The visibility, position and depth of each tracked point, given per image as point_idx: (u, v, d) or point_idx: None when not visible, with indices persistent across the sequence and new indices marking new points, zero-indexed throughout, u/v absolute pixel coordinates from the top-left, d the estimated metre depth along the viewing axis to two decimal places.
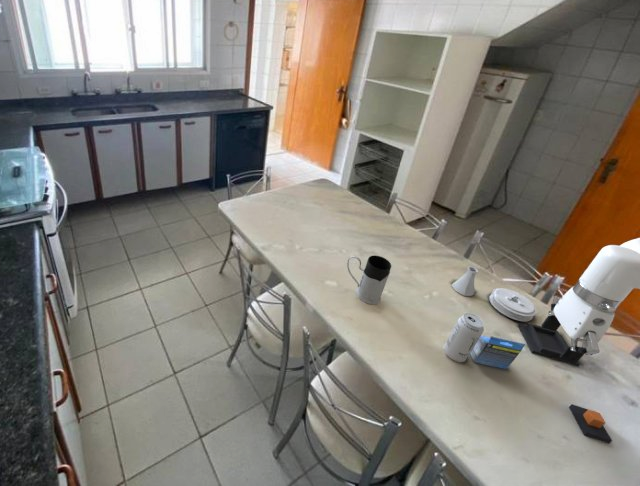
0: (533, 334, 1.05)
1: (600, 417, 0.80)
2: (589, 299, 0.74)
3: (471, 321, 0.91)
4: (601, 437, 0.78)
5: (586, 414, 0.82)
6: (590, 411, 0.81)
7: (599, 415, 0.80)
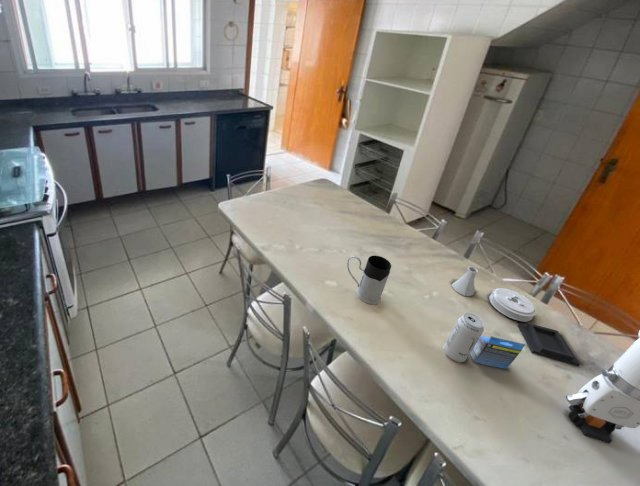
0: (533, 334, 1.05)
1: None
2: (609, 368, 0.77)
3: (471, 321, 0.91)
4: (601, 437, 0.78)
5: None
6: None
7: None
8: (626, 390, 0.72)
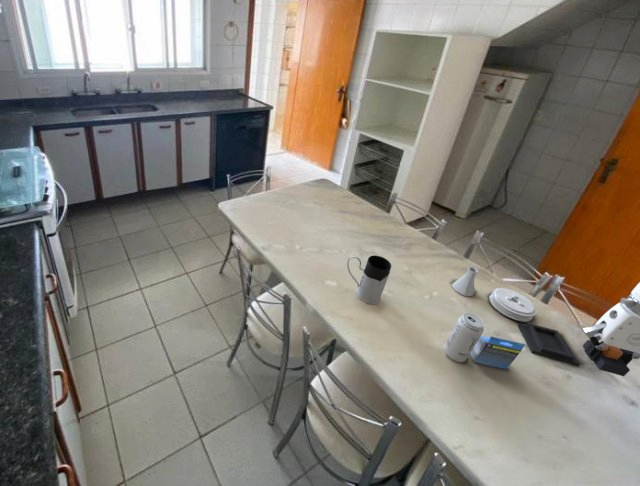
0: (533, 334, 1.05)
1: (617, 348, 0.80)
2: None
3: (471, 321, 0.91)
4: (619, 367, 0.79)
5: None
6: None
7: (616, 347, 0.81)
8: None
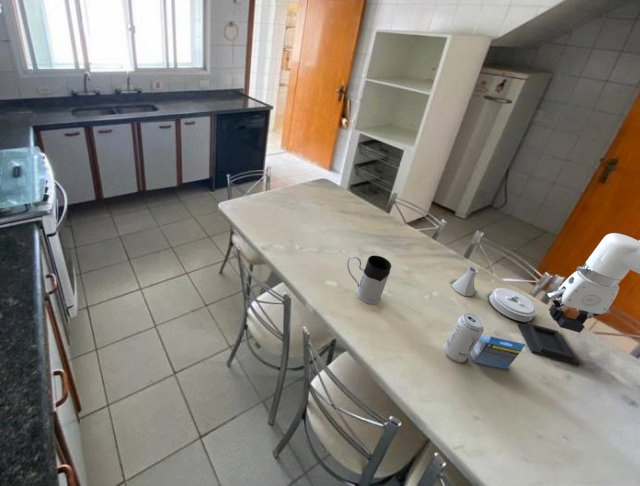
0: (533, 334, 1.05)
1: (575, 310, 0.97)
2: None
3: (471, 321, 0.91)
4: (576, 325, 0.95)
5: (564, 309, 0.98)
6: None
7: (574, 309, 0.97)
8: (595, 279, 0.89)
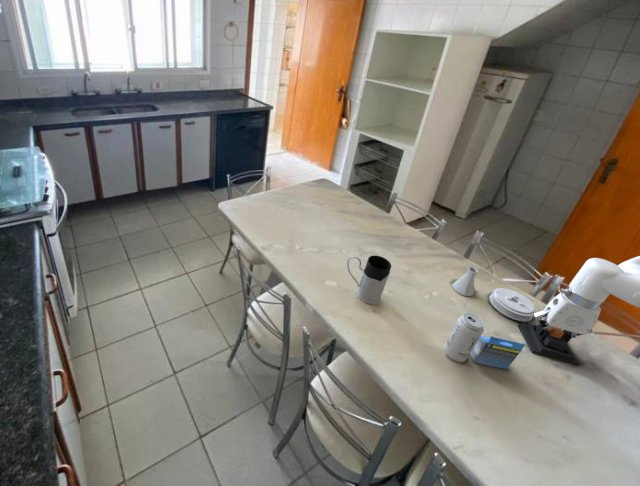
0: (533, 334, 1.05)
1: (560, 329, 1.01)
2: None
3: (471, 321, 0.91)
4: (560, 344, 0.99)
5: (550, 328, 1.02)
6: None
7: None
8: (577, 301, 0.93)
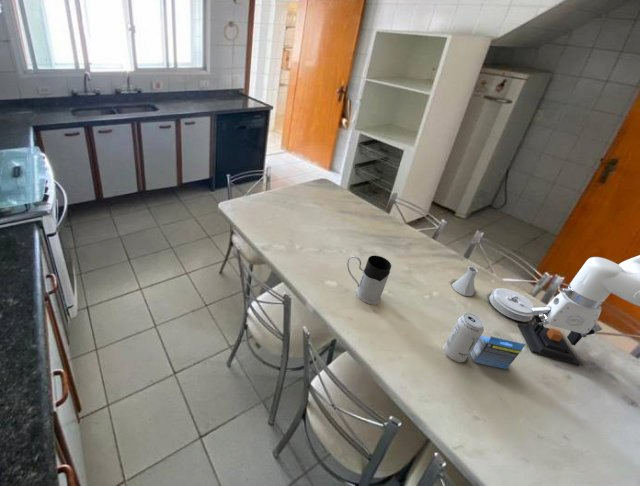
0: (533, 334, 1.05)
1: (559, 333, 1.01)
2: None
3: (471, 321, 0.91)
4: (559, 347, 0.99)
5: (549, 332, 1.03)
6: (552, 329, 1.02)
7: (558, 331, 1.01)
8: (578, 300, 0.93)
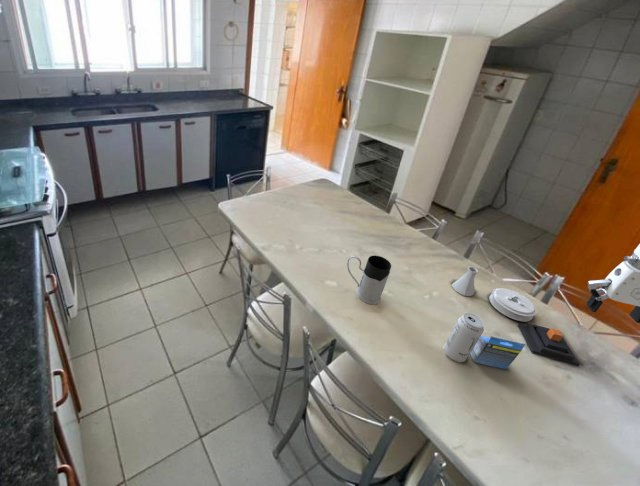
0: (533, 334, 1.05)
1: (559, 333, 1.01)
2: None
3: (471, 321, 0.91)
4: (559, 347, 0.99)
5: (549, 332, 1.03)
6: (552, 329, 1.02)
7: (558, 331, 1.01)
8: None
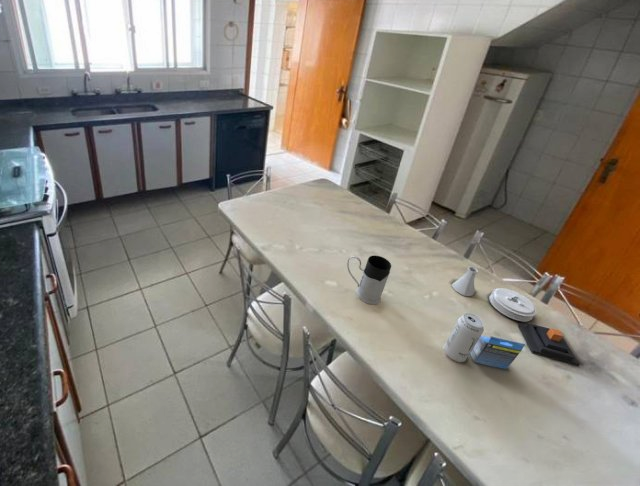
0: (533, 334, 1.05)
1: (559, 333, 1.01)
2: None
3: (471, 321, 0.91)
4: (559, 347, 0.99)
5: (549, 332, 1.03)
6: (552, 329, 1.02)
7: (558, 331, 1.01)
8: None
